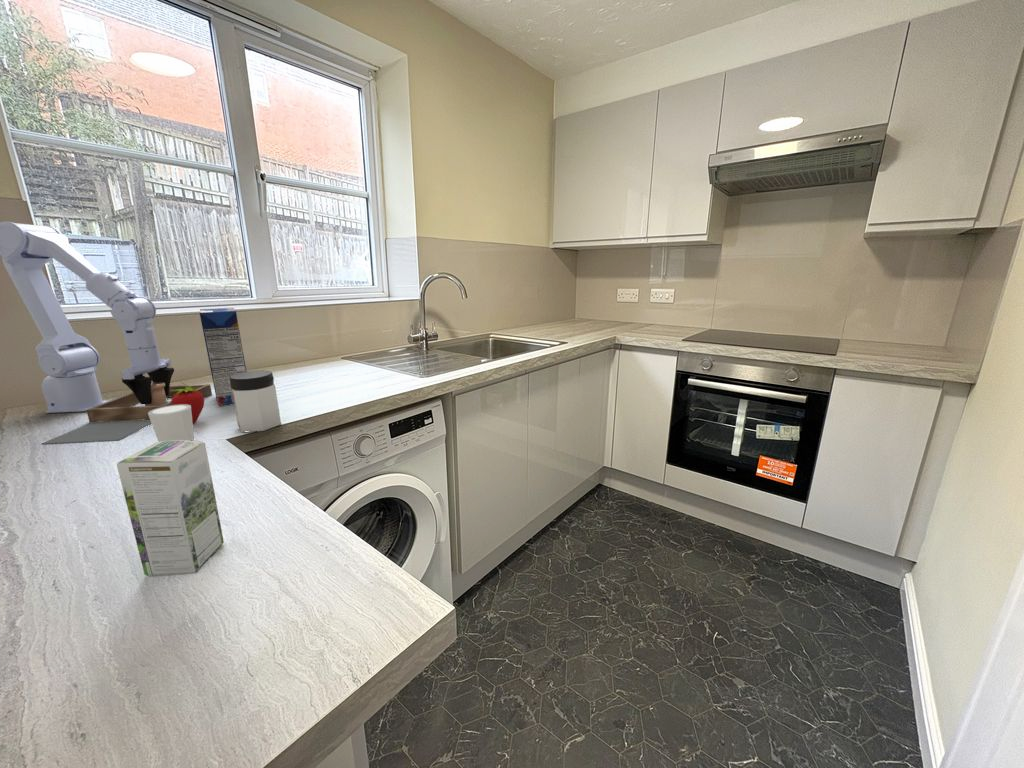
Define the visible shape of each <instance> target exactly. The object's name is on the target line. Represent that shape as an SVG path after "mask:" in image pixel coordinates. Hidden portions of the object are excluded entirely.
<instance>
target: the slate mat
mask: <svg viewBox="0 0 1024 768" xmlns="http://www.w3.org/2000/svg"><path fill="white" fill-rule="evenodd" d="M148 425H149V426H150V425H152V423H151V421H150V419H148V420H126V421H103V422H89V423H87V424H84V425H82V426H79V427H77V428H75V429H72V430H69V431H68V432H66V433H62V434H61V435H58V436H55V437H53V438H51V439H48V440H46V441H44V442H41V445H53V443H54V444H55V445H58V443H59V444H75V443H76V444H77V442H79V443H94V442H95V441H99V442H112V441H113V442H115V441H118V442H119V441H121V440H124V439H125V438H128V437H129V436H131V435H133V434H135V433H136V432H139V431H141V430H143V429H144V427H145V428H147V427H148ZM146 426H147V427H146ZM142 428H143V429H142Z"/></svg>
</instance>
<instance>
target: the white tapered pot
mask: <svg viewBox="0 0 1024 768" xmlns="http://www.w3.org/2000/svg"><path fill="white" fill-rule="evenodd" d="M148 415H149V418H150V419H149V420H150V421H151V423H152V424H151V425H152V429H153V431H154V433H155V436H156V440H157V442H161V441H173V440H188V441H191V440H192V439H193V440H195V435H194V423H193V422H192V412H191V405H186V404H179V405H170V406H164V407H160V408H157V409H154V410H151V411H149V412H148ZM193 440H192V441H193Z"/></svg>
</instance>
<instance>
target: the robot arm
mask: <svg viewBox="0 0 1024 768" xmlns="http://www.w3.org/2000/svg"><path fill="white" fill-rule="evenodd" d="M0 256H1V259H2V263H3V266H4V268H5V270H6V272H7V274H8V276H9V278H10V279H11V281H12V282H13V285H14V287H15V288H16V290H17V292H18V294H19V296H20V297H21V300H22V302H23V304H24V305H25V307H26V310H27V311H28V312H29V315H30V317H31V319H32V320H33V321H34V324H35V326H36V327H37V329H38V331H39V333H40V335H41V337H42V340H41V341H40V342H39V343H38V344H37V345H36V347H35V348H34V349H35V352H36V354H37V358H38V365H39V366H40V369H41V370H42V371H43V372H44V373H45V374H47V375H48V376H46V377H45V378H43V379H42V382H41V390H42V393H43V396H44V400H45V403H46V407H47V409H48V410H45V413H46V414H49V413H50V414H51V413H55V414H56V413H75V412H77V413H78V412H79V413H80V412H87V411H86V410H87V409H89V408H92V407H95V406H97V405H100V404H103V403H105V402H108V401H110V400H109V399H106V400H103V397H102V394H101V393H102V392H101V389H100V386H99V383H98V379H97V375H96V372H95V371H98V368H97V367H98V366H99V365H100V362H101V355H100V352H98V350H97V349H96V348H95V347H93V345H92V344H91V343H90V341H89V339H88V338H86V337H85V336H82V335H80V334H78V333H76V332H75V331H74V330H73V328H72V325H71V323H70V321H69V319H68V318H67V316H66V314H65V311H64V310H63V308H62V306H61V304H60V302H59V300H58V298H57V296H56V295H55V292H54V290H53V289H52V286H51V285H50V283H49V281H48V279H47V277H46V275H45V273H44V271H43V269H44V266H45V265H46V264H48V263H49V262H50V261H51V260H53V259H54V260H55V261H56V262H58V263H59V264H61V265H62V266H63V267H65V268H67V270H69V271H70V272H72V273H73V274H75V275H76V276H77V277H79V278H80V279H82V280H83V281H84V282H85V288H86V290H87V291H88V292H90V293H92V295H93V296H94V297H96V298H97V299H99V300H100V301H101V302H102V303H103V304H105V305H106V306H107V307H109V308H110V309H111V310H110V313H111V316H112V318H113V319H114V320H115V321H116V322H117V323H118V326H119V329H121V330H122V333H123V336H124V337H123V338H124V341H125V346H126V348H127V349H126V350H127V352H128V357H129V360H130V364H131V365H130V366H129V367H127V368H126V369H124V370H122V371H120V374H121V380H122V381H121V382H122V383H123V384H124V385H126V387H128V389H129V390H131V392H133V393H134V394H135V396H136V397H137V399H138V400H139V402H140V403H139V404H140V405H145V404H151V403H152V396H151V383H152V382H164V383H165V387H164V390H165V395H166V396H169V388H170V386H171V380H172V377H173V374H174V373H175V368H174V367H172V362H171V359H170V358H161V354H160V350H159V346H158V341H157V336H156V332H155V328H154V324H153V319H154V318H155V317H156V315H157V309H156V306H155V305H154V303H153V302H152V301H151V299H150V298H148V297H145V296H139V295H138V294H136V293H135V292H134V291H133V290H130V289H129V288H128V287H126V286H125V285H124V284H123V283H121V281H119V278H118V277H117V276H116V275H114V274H111V273H107V272H100V271H99V270H98V269H97V268H96V267H95V266H93V264H91V263H90V262H89V260H87V259H86V258H85V257H84V256H83V255H82V254H81V253H79V252H78V251H77V250H76V249H75V247H73V246H72V245H71V244H70V241H69V238H68V237H67V236H66V235H65V234H63V233H62V232H61V231H60V230H59V229H57V228H56V227H54V226H51V225H39V224H38V225H37V224H27V223H18V222H12V221H1V222H0ZM146 374H147V375H148V376H145V375H146Z"/></svg>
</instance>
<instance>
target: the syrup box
mask: <svg viewBox="0 0 1024 768" xmlns="http://www.w3.org/2000/svg"><path fill="white" fill-rule="evenodd" d="M116 467H117V472H118V475H119V479H120V483H121V487H122V491H123V495H124V499H125V503H126V507H127V510H128V511H127V512H128V515H129V518H130V523H131V527H132V531H133V534H134V537H135V542H136V545H137V551H138V554H139V557H140V562H141V566H142V570H143V574H144V576H148V577H149V576H166V575H168V576H170V575H181V574H182V575H183V574H185V575H186V574H196V573H197V572H198V571H199V570H200V569H201V568H203V566H204V565H205V564H206V563H207V562H208V560H210V558H211V557H212V556H213V555H214V554H215V553H216V552H217V551H218V550H219V549H220V547H222V546H223V544H224V542H225V541H224V536H223V530H222V525H221V520H220V515H219V510H218V505H217V499H216V495H215V494H216V493H215V488H214V483H213V482H214V481H213V477H212V472H211V468H210V462H209V457H208V452H207V446H206V443H205V442H204V441H197V440H192V441H188V440H173V441H161V442H158V441H156V442H153V443H152V444H150V445H148V446H146V447H145V448H142V449H141V450H139V451H137V452H135V453H133V454H131V455H129V456H127V457H126V458H123V459H122V460H120V461H118V462H117V463H116Z"/></svg>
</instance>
